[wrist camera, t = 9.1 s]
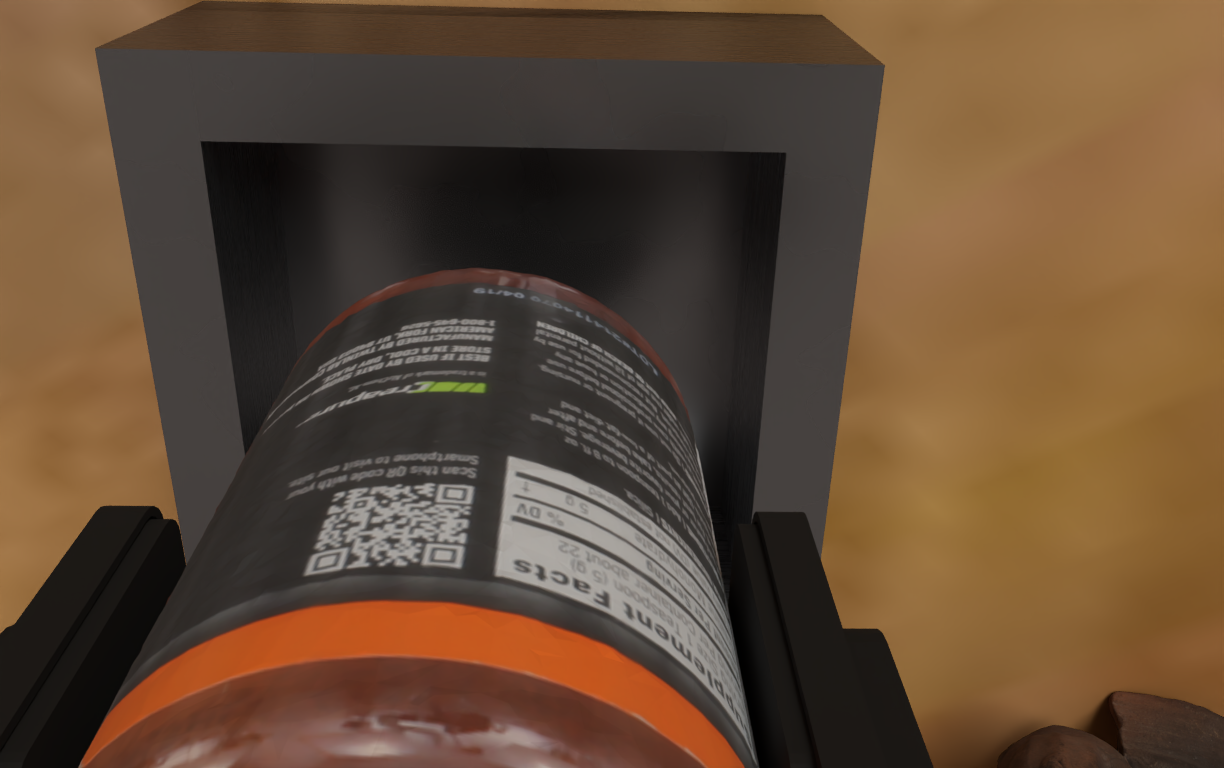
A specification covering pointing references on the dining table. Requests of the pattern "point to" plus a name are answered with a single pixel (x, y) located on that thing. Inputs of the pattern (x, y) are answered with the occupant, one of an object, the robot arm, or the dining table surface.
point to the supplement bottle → (452, 557)
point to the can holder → (501, 206)
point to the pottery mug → (1129, 739)
